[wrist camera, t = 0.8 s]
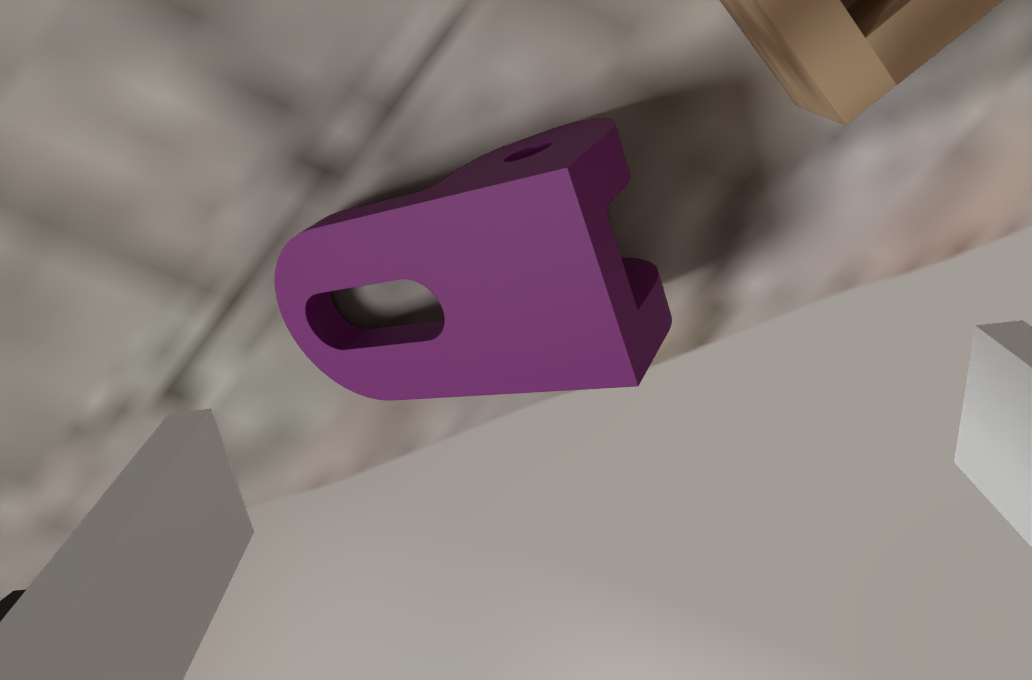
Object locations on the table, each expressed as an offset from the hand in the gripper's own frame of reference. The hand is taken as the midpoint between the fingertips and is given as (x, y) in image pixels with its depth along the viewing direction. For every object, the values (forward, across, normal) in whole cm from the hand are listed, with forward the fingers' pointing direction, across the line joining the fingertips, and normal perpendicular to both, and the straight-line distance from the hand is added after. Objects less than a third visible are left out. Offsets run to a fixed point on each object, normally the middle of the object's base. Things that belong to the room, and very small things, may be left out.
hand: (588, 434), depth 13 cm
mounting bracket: (+26, -5, -5) cm, 27 cm away
